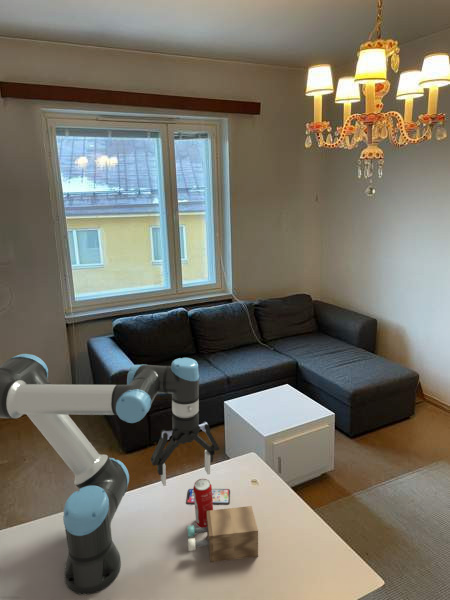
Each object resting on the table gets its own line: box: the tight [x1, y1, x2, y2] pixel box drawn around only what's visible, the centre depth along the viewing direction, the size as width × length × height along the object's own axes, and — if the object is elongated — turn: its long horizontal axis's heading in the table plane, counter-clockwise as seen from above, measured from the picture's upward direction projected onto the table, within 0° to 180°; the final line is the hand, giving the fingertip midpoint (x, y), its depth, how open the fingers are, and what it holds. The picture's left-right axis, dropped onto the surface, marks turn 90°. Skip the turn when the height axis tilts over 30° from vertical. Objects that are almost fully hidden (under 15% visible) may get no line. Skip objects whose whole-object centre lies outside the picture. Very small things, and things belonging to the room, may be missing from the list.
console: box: [206, 505, 259, 563], centre depth 126 cm, size 14×10×9 cm
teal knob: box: [187, 524, 208, 538], centre depth 128 cm, size 8×3×3 cm, turn 97°
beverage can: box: [192, 478, 214, 528], centre depth 135 cm, size 6×6×15 cm
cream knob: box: [187, 537, 209, 552], centre depth 123 cm, size 8×3×3 cm, turn 97°
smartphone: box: [185, 488, 231, 506], centre depth 148 cm, size 8×1×15 cm
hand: (185, 477), depth 125 cm, fingers open, 13 cm apart
